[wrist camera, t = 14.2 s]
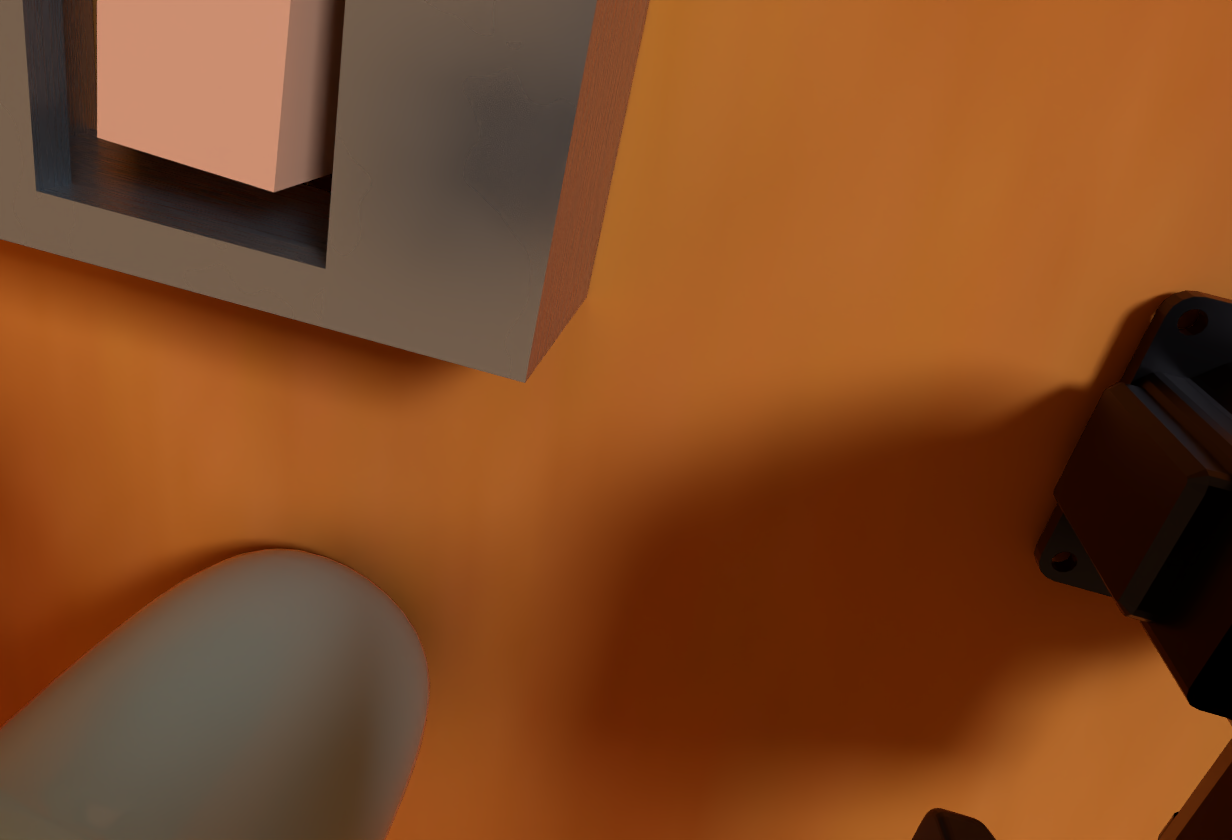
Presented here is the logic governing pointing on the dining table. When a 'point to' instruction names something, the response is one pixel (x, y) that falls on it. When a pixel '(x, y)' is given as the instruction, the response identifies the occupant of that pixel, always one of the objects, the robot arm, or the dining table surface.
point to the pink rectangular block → (223, 84)
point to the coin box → (356, 176)
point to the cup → (228, 714)
